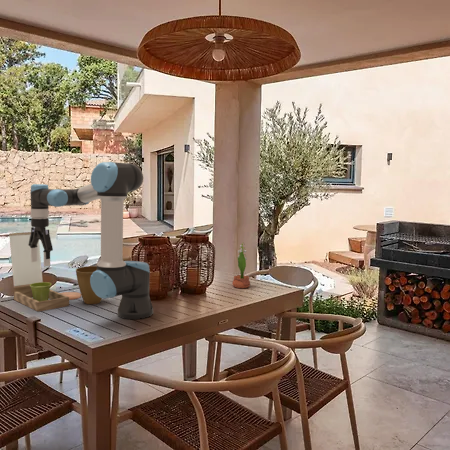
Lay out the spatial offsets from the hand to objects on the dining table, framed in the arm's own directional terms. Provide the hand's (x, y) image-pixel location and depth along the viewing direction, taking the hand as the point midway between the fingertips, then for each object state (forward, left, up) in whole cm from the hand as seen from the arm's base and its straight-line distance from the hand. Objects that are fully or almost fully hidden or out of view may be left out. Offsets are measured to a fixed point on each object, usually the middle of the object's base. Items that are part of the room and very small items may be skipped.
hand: (40, 263), depth 209 cm
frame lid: (+15, 0, +1) cm, 15 cm away
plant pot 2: (-15, -18, -19) cm, 30 cm away
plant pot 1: (0, 0, -19) cm, 19 cm away
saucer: (+2, -14, -18) cm, 23 cm away
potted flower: (-39, -96, -19) cm, 105 cm away
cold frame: (0, 0, -18) cm, 18 cm away
